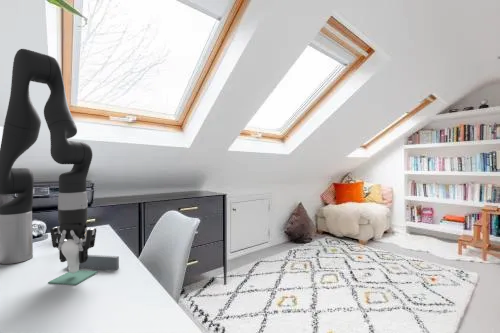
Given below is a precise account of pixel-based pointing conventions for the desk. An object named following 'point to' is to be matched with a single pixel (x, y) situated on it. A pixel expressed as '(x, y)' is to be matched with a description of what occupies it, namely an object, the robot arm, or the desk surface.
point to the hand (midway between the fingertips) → (73, 261)
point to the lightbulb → (71, 254)
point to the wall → (101, 262)
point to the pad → (73, 277)
